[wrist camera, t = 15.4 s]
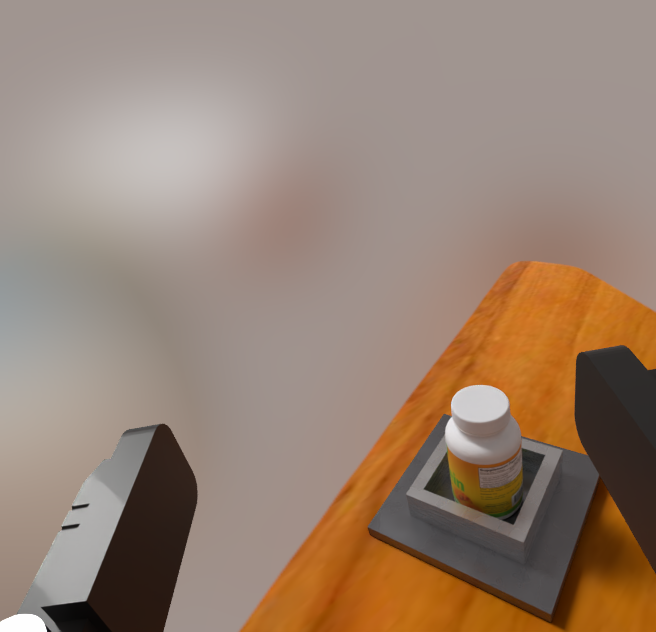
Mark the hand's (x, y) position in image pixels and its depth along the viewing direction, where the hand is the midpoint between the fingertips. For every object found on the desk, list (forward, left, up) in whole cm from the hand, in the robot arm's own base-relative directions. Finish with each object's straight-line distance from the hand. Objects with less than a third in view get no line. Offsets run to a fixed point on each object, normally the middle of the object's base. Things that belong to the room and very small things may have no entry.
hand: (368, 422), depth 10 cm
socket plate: (-6, -20, -29) cm, 36 cm away
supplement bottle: (-6, -20, -29) cm, 36 cm away
